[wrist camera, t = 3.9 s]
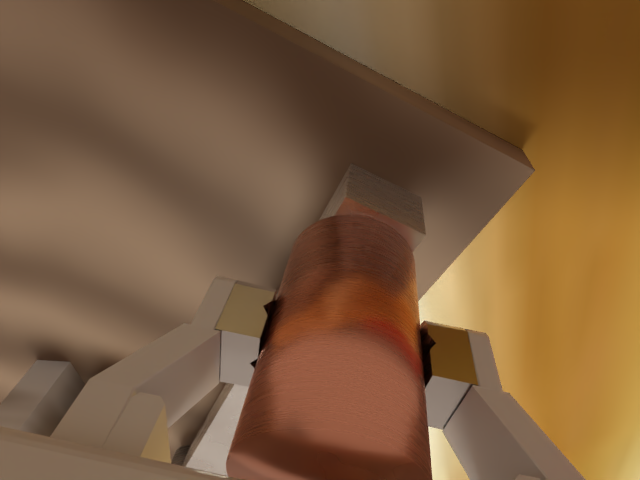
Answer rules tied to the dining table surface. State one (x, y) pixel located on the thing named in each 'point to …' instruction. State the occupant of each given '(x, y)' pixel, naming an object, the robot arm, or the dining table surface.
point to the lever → (334, 355)
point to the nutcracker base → (190, 176)
